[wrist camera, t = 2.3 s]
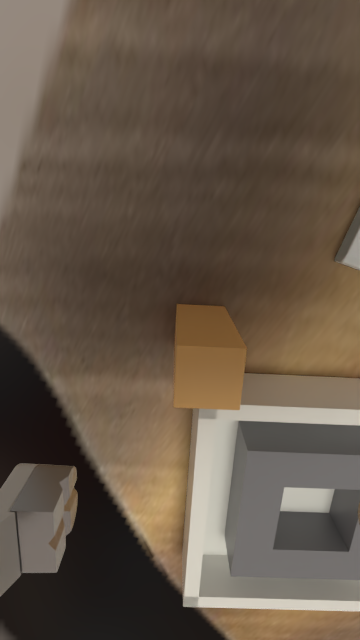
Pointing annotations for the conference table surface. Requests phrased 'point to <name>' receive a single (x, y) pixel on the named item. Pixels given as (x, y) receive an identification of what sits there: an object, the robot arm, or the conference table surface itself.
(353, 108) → the conference table surface
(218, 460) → the walled box
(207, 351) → the tan rectangular block
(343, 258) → the external hard drive
